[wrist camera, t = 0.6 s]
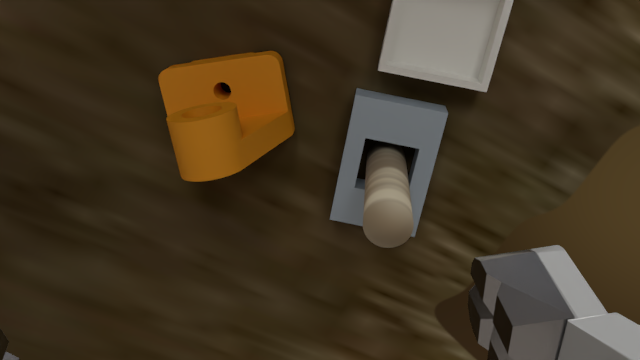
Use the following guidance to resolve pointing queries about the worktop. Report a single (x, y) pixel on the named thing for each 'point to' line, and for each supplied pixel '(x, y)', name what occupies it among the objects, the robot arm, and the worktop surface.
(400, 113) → the block
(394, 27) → the tray
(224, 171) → the bracket
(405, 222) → the dowel
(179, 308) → the worktop surface
